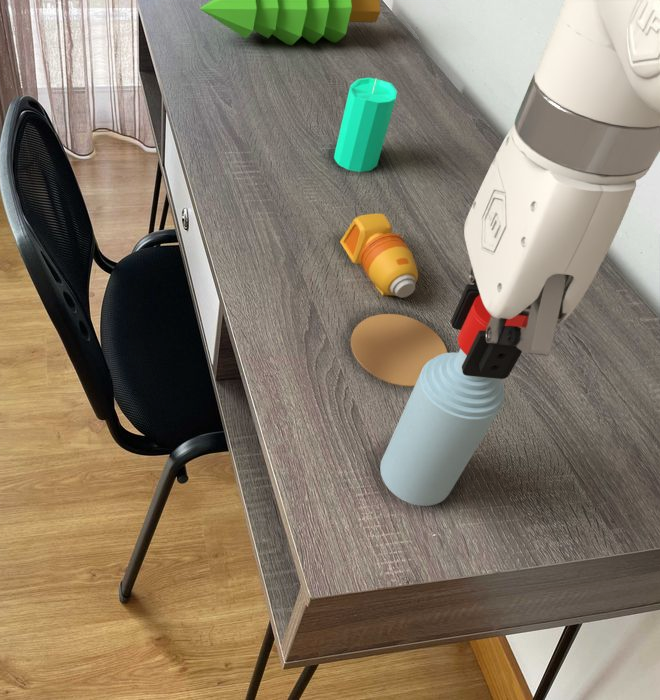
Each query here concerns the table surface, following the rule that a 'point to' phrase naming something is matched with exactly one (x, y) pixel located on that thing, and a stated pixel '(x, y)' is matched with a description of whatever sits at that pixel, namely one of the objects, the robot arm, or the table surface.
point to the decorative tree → (293, 17)
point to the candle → (365, 124)
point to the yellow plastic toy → (381, 254)
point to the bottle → (439, 430)
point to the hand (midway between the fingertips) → (478, 348)
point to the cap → (480, 324)
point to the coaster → (395, 347)
